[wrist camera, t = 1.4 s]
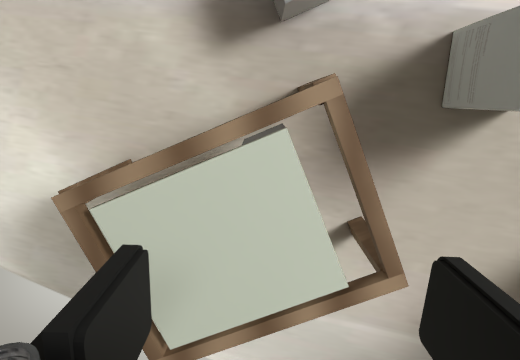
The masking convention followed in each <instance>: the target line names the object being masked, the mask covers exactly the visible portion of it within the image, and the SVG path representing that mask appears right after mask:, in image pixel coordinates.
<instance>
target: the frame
mask: <svg viewBox="0 0 520 360" xmlns="http://www.w3.org/2000/svg"><path fill="white" fill-rule="evenodd" d="M298 91H299V92H298V93H295V94H293V95H291V96H288V97H286V98H283V99H281V100H279V101H276V102H274V103H272V104H269V105H267V106H265V107H262V108H260V109H258V110H255V111H253V112H251V113H248V114H246V115H244V116H241V117H239V118H236V119H234V120H232V121H229V122H227V123H225V124H222V125H220V126H218V127H215V128H213V129H211V130H208V131H206V132H204V133H201V134H199V135H197V136H194V137H192V138H190V139H187V140H185V141H182V142H180V143H178V144H175V145H173V146H171V147H168V148H166V149H164V150H161V151H159V152H157V153H154V154H152V155H150V156H147V157H145V158H143V159H140V160H138V161H135V162H133V163H132V161H131V159H129V160H127V161H125V162H122V163H120V164H118V165H116V166H113V167H111V168H109V169H107V170H104V171H102V172H100V173H98V174H96V175H93V176H91V177H89V178H87V179H85V180H82V181H80V182H78V183H76V184H73V185H71V186H69V187H67V188H65V189H62V190H60V191H58V193H59V194H58V195H56V196H54V197H52V198H51V199H52V200H53V202H54V204H55V205H56V207H57V209H58V210H59V212H60V214H61V215H62V217H63V219H64V220H65V222H66V223H67V225H68V227H69V228H70V230H71V232H72V233H73V235H74V237H75V238H76V240H77V242H78V243H79V245H80V247H81V248H82V250H83V252H84V253H85V255H86V257H87V258H88V260H89V262H90V263H91V265H92V267H93V268H94V270H95V271H96V272H97V271H98V270H99V269H100V268H101V267H102V266H103V265H104V264H105V263H106V262H107V261H108V259H109V258H110V257H111V256H112V255H113V254H114V253H113V251H112V249H111V248H110V246H109V244H108V243H107V241H106V239H105V237H104V236H103V234H102V232H101V230H100V229H99V227H98V225H97V224H96V222H95V220H94V218H93V217H92V215H91V213H90V211H89V210H88V208H87V206H86V205H85V203H88V202H89V201H91V200H93V199H94V198H96V197H99V196H101V195H103V194H106V193H108V192H111V191H113V190H115V189H118V188H120V187H122V186H125V185H127V184H130V183H132V182H134V181H137V180H139V179H142V178H144V177H146V176H149V175H151V174H154V173H156V172H158V171H161V170H163V169H165V168H168V167H170V166H173V165H175V164H177V163H180V162H182V161H185V160H187V159H189V158H192V157H194V156H197V155H199V154H201V153H204V152H206V151H208V150H211V149H213V148H216V147H218V146H220V145H223V144H225V143H228V142H230V141H232V140H235V139H237V138H240V137H242V136H244V135H247V134H249V133H251V132H254V131H256V130H259V129H261V128H263V127H266V126H268V125H271V124H273V123H275V122H278V121H280V120H283V119H285V118H287V117H290V116H292V115H294V114H297V113H299V112H302V111H304V110H306V109H309V108H311V107H314V106H316V105H322V104H324V106H325V109H326V112H327V115H328V117H329V120H330V123H331V126H332V129H333V132H334V134H335V137H336V140H337V143H338V146H339V148H340V151H341V154H342V157H343V160H344V162H345V165H346V168H347V171H348V174H349V176H350V179H351V182H352V185H353V188H354V190H355V193H356V196H357V199H358V202H359V204H360V207H361V210H362V213H363V216H364V219H365V220H364V219H363V218H362V217H358V218H356V219H353V220H350V221H348V225H349V228H350V231H351V233H352V235H353V237H354V238H355V240H356V241H357V243H358V244H359V246H360V247H361V249H362V250H363V252H364V253H365V255H366V256H367V258H368V259H369V261H370V263H371V264H372V266H373V267H374V269H375V270H376V273H373V274H371V275H368V276H365V277H362V278H359V279H356V280H354V281H351V282H348V286H349V287H347V288H344V289H341V290H339V291H336V292H333V293H330V294H327V295H324V296H322V297H319V298H316V299H313V300H310V301H307V302H305V303H302V304H299V305H296V306H293V307H290V308H288V309H285V310H282V311H279V312H276V313H273V314H270V315H268V316H265V317H262V318H259V319H256V320H253V321H251V322H248V323H245V324H242V325H239V326H236V327H234V328H231V329H228V330H225V331H222V332H219V333H216V334H214V335H211V336H208V337H205V338H202V339H199V340H197V341H194V342H191V343H188V344H185V345H182V346H180V347H177V348H174V349H171V350H170V348H169V347H168V345H167V343H166V341H165V340H164V338H163V336H162V335H161V333H160V332H159V331H158V329H157V327H156V325H155V324H154V322H153V320H152V325H151V330H150V333H149V335H148V337H147V340H146V342H145V344H144V346H143V348H142V349H143V351H144V353H145V354H146V356H147V357H148V359H149V360H196V359H199V358H202V357H205V356H208V355H211V354H214V353H217V352H220V351H223V350H225V349H228V348H231V347H234V346H237V345H240V344H243V343H246V342H249V341H252V340H254V339H257V338H260V337H263V336H266V335H269V334H272V333H275V332H278V331H280V330H283V329H286V328H289V327H292V326H295V325H298V324H301V323H304V322H307V321H309V320H312V319H315V318H318V317H321V316H324V315H327V314H330V313H333V312H336V311H338V310H341V309H344V308H347V307H350V306H353V305H356V304H359V303H362V302H365V301H367V300H370V299H373V298H376V297H379V296H382V295H385V294H388V293H391V292H394V291H396V290H399V289H402V288H405V287H408V283H407V280H406V277H405V274H404V271H403V268H402V265H401V262H400V259H399V256H398V253H397V250H396V247H395V244H394V241H393V238H392V235H391V233H390V230H389V227H388V224H387V221H386V218H385V215H384V212H383V209H382V206H381V203H380V200H379V197H378V194H377V191H376V188H375V185H374V182H373V179H372V176H371V173H370V171H369V168H368V165H367V162H366V159H365V156H364V153H363V150H362V147H361V144H360V141H359V138H358V135H357V132H356V129H355V126H354V123H353V120H352V117H351V114H350V111H349V109H348V106H347V103H346V100H345V97H344V94H343V91H342V88H341V85H340V82H339V79H338V76H336V74H335V73H334V74H331V75H329V76H326V77H323V78H320V79H317V80H315V81H312V82H310V83H307V84H305V85H303V86H300V87H298ZM365 221H366V222H365Z"/></svg>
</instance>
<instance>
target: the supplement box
mask: <svg viewBox="0 0 520 360" xmlns="http://www.w3.org/2000/svg"><path fill="white" fill-rule="evenodd" d="M442 107H443V108H457V109H476V110H501V111H520V6H518V7H515V8H512V9H510V10H507V11H504V12H502V13H499V14H496V15H494V16H491V17H488V18H486V19H483V20H481V21H478V22H475V23H473V24H471V25H468V26H465V27H463V28H460V29H458V30H455V31H454V33H453V39H452V45H451V52H450V58H449V64H448V71H447V77H446V84H445V90H444V97H443V103H442Z"/></svg>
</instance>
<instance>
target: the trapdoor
mask: <svg viewBox="0 0 520 360" xmlns="http://www.w3.org/2000/svg"><path fill="white" fill-rule="evenodd" d="M90 212H91V214H92V215H93V217H94V219H95V221H96V222H97V224H98V226H99V227H100V229H101V231H102V233H103V234H104V236H105V238H106V240H107V241H108V243H109V245H110V246H111V248H112V250H113V252H114V253H115V252H116V251H117V250H118V249H119V248H120V247H121V246H122V245H123V244H126V245H141V246H142V247H143V250H148V254H149V274H150V294H151V315H152V319H153V321H154V322H155V324H156V326H157V328H158V329H159V331H160V333H161V335H162V336H163V338H164V340H165V341H166V343H167V345H168V347H169V348H170V350H171V349H174V348H177V347H180V346H182V345H185V344H188V343H191V342H194V341H197V340H199V339H202V338H205V337H208V336H211V335H214V334H216V333H219V332H222V331H225V330H228V329H231V328H234V327H236V326H239V325H242V324H245V323H248V322H251V321H253V320H256V319H259V318H262V317H265V316H268V315H270V314H273V313H276V312H279V311H282V310H285V309H288V308H290V307H293V306H296V305H299V304H302V303H305V302H307V301H310V300H313V299H316V298H319V297H322V296H324V295H327V294H330V293H333V292H336V291H339V290H341V289H344V288H347V287H349V286H348V283H347V281H346V278H345V276H344V273H343V271H342V268H341V265H340V263H339V260H338V258H337V255H336V253H335V250H334V248H333V245H332V242H331V240H330V237H329V235H328V232H327V230H326V227H325V225H324V222H323V219H322V217H321V214H320V212H319V209H318V207H317V204H316V202H315V199H314V196H313V194H312V191H311V189H310V186H309V184H308V181H307V179H306V176H305V173H304V171H303V168H302V166H301V163H300V161H299V158H298V155H297V153H296V150H295V148H294V145H293V143H292V140H291V138H290V135H289V132H288V130H287V128H286V127H285V126H284V125H283V123H282V124H280V125H277V126H275V127H273V128H270V129H268V130H265V131H263V132H261V133H258V134H256V135H253V136H251V137H249V138H246V139H244V141H243V144H242V146H240V147H237V148H235V149H232V150H230V151H227V152H225V153H223V154H220V155H218V156H215V157H213V158H211V159H208V160H206V161H203V162H201V163H199V164H196V165H194V166H191V167H189V168H187V169H184V170H182V171H179V172H177V173H175V174H172V175H170V176H167V177H165V178H162V179H160V180H158V181H155V182H153V183H150V184H148V185H146V186H143V187H141V188H138V189H136V190H134V191H131V192H129V193H126V194H124V195H122V196H119V197H117V198H114V199H112V200H110V201H107V202H105V203H102V204H100V205H97V206H95V207H93V208H91V209H90Z"/></svg>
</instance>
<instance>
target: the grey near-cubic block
mask: <svg viewBox="0 0 520 360" xmlns="http://www.w3.org/2000/svg"><path fill="white" fill-rule="evenodd" d="M273 1H274V4H275V7H276V10H277V12H278V15H279V18H280V20H281V22H283V21H285V20H287V19H289V18H292V17H294V16H296V15H298V14H300V13H303V12H305V11H307V10H309V9H311V8H314V7H316V6H318V5H320V4H322V3H325V2H327V1H329V0H273Z"/></svg>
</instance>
